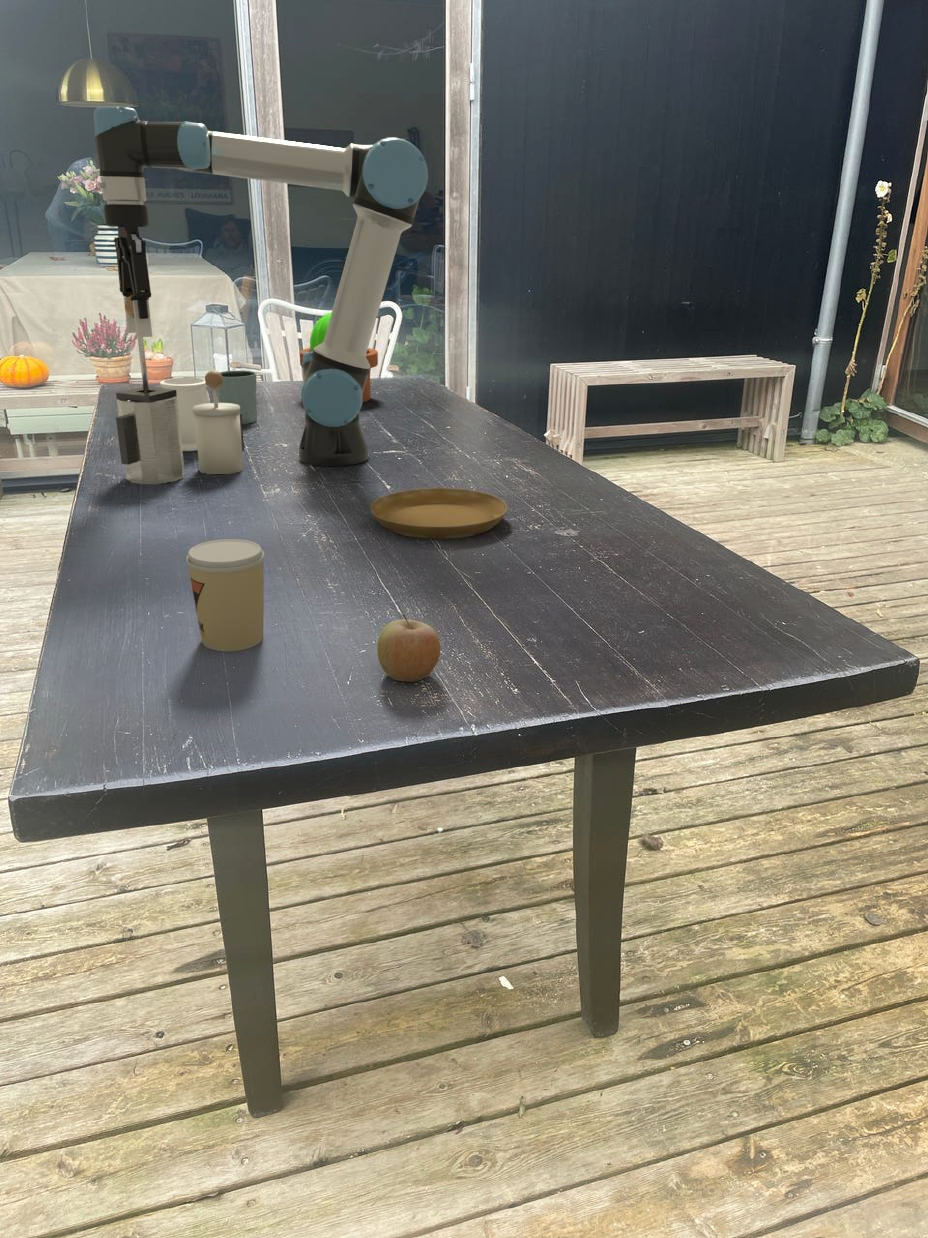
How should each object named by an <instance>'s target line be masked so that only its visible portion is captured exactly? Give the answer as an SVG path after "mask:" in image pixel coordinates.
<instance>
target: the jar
mask: <svg viewBox="0 0 928 1238" xmlns="http://www.w3.org/2000/svg"><path fill="white" fill-rule="evenodd" d="M207 387H208V386H207V385H206V383H205V378H200V377H199V378H198V377H176V378H169V379H164V380H162V381H160V388H163V389H173V390H176V393H177V401H178V411H179V421H180V431H181V441H182V451H183V452H198V449H197V439H196V428H195V418H194V414H193V407H194V406H196V405H200V404H207V403H211V400H210V395H209V392H208V389H207Z"/></svg>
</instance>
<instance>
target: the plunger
mask: <svg viewBox="0 0 928 1238" xmlns="http://www.w3.org/2000/svg"><path fill="white" fill-rule="evenodd" d="M132 296H134V295H131V296H129V297H128V298H127V299H126V301H125V304H124V311H125V310H126V312H127V314H128V315H129V316H130V317H132V318H135V317H134V308H133V301H131V300H130V298H131V297H132ZM144 343H145V342H144V337H137V345H138V352H139V354H138V355H139V361H140V371H141V380H142V381H141V382H142V387H143V390H144V393H149V387H150V386H149V380H148V379H149V378H148V371H147V361H146V352H145V344H144ZM158 401H161V400H158ZM134 402H140V401H134Z"/></svg>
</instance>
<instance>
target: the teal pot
mask: <svg viewBox="0 0 928 1238" xmlns="http://www.w3.org/2000/svg"><path fill="white" fill-rule="evenodd" d="M218 372H219V371H218ZM219 373H220V374H221V375H222V377H223V384H222V385H221V387H219V388H217V393H218V394H219V397H218V399H219V403H232V404H237V405H239V406H240V413H241V414H242V425H247V424H252V423H256V422H257V420H258V408H257V404H258V403H257V372H255V371H252V370H241V369H240V370H225V371H220V372H219Z"/></svg>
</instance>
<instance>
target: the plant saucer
mask: <svg viewBox="0 0 928 1238" xmlns="http://www.w3.org/2000/svg"><path fill="white" fill-rule="evenodd" d="M369 508H370V511H371V515H372V516H373V517H374V519H375V520H376V521H377V522H378V523H379V524H380V525H381V526H382V527H383V528H385V529H387V530H389V531H390V532H393V533H395V534H398V535H401V536H404V537H405V536H406V537H410V538H415V539H416V538H417V539H424V540H425V539H426V540H427V539H428V540H453V539H461V538H462V539H463V538H469V537H473V536H478V535H480V534H482V533H485V532H488V530H490V529H492V528H494V527H495V526H496V525H498V524H499V523H500V522H501V521H502V519H503V518H504V516H506V514H507V511H508V505H507V503H506V502H505V501H504V500H503V499H501V498H499V497H498V496H496V495H492V494H490V493H486V492H482V491H479V490H478V491H477V490H472V489H464V488H455V487H454V488H452V487H451V488H450V487H449V488H448V487H430V488H417V489H416V488H415V489H408V490H401V491H398V492H394V493H390V494H386V495H383V496H381V497H379V498H377V499H375V500H374V501H373V502H372V503H371V505H370V507H369Z"/></svg>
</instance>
